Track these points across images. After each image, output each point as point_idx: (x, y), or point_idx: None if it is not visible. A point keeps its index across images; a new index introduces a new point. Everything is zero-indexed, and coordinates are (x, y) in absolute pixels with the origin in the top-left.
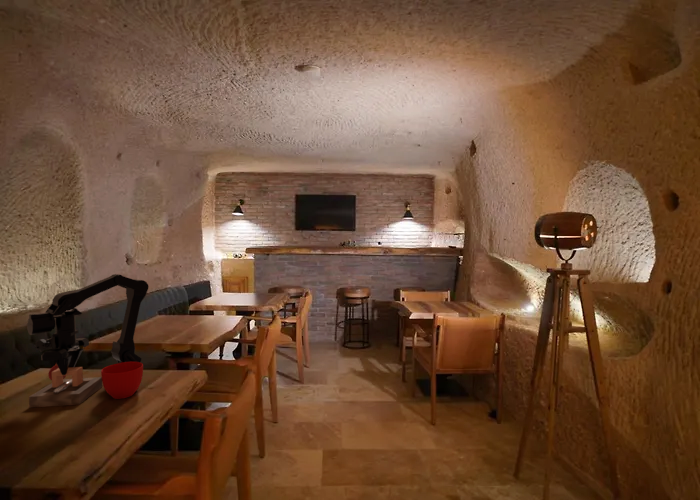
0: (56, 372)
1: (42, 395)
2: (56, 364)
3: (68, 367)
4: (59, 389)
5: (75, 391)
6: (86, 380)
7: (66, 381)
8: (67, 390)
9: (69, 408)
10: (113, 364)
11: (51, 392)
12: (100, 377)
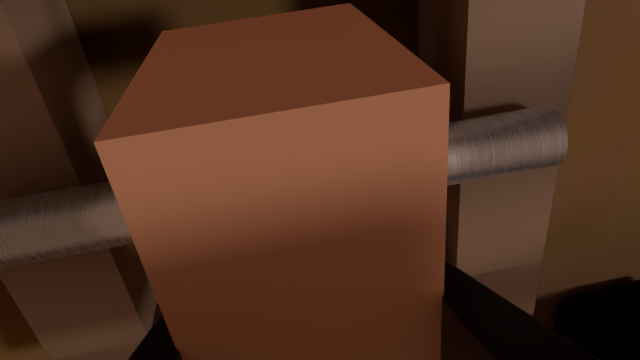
0: (140, 244)
1: None
2: None
3: (445, 300)
4: (34, 261)
5: (129, 348)
6: (463, 240)
7: (480, 12)
8: (422, 6)
9: (13, 312)
10: None
11: (41, 117)
12: (527, 307)
